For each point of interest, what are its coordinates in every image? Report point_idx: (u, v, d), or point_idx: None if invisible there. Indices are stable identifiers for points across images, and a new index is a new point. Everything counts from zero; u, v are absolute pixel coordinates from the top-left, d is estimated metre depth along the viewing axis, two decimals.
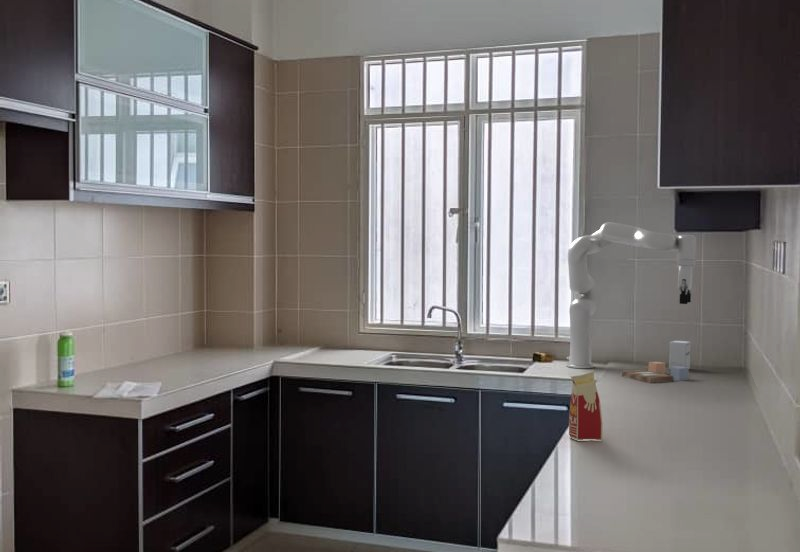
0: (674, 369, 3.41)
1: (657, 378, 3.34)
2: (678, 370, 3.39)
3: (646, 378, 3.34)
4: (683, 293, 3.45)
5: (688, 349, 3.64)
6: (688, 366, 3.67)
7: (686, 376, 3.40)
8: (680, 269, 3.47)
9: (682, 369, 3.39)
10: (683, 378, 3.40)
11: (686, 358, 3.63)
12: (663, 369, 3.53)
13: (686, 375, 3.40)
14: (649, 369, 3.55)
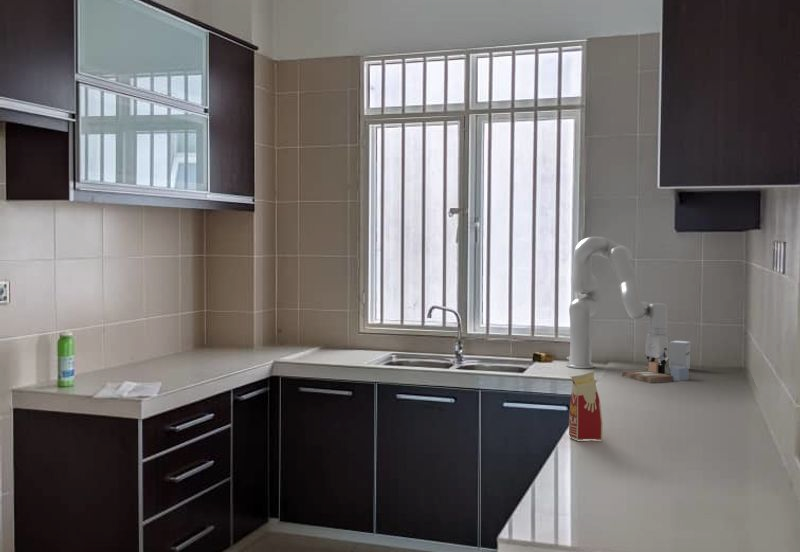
0: (674, 369, 3.41)
1: (657, 378, 3.34)
2: (678, 370, 3.39)
3: (646, 378, 3.34)
4: (663, 364, 3.51)
5: (688, 349, 3.64)
6: (688, 366, 3.67)
7: (686, 376, 3.40)
8: (661, 338, 3.49)
9: (682, 369, 3.39)
10: (683, 378, 3.40)
11: (686, 358, 3.63)
12: None
13: (686, 375, 3.40)
14: (649, 369, 3.55)
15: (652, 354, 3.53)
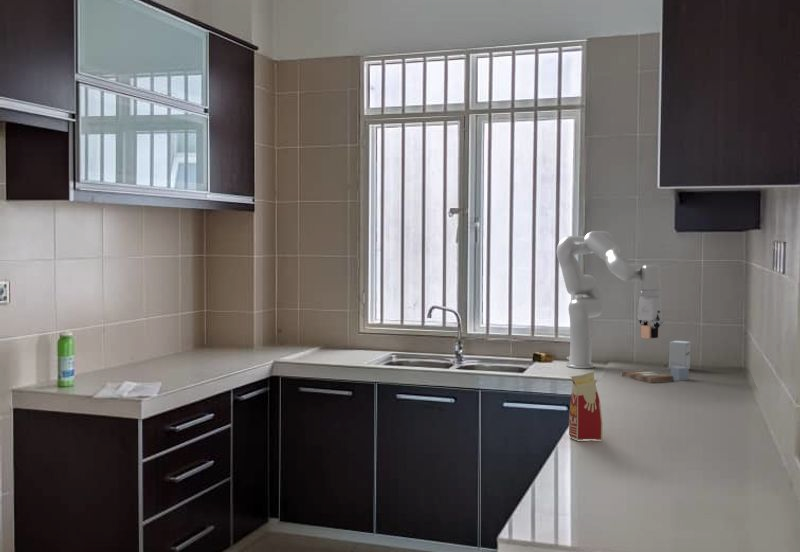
0: (674, 369, 3.41)
1: (657, 378, 3.34)
2: (678, 370, 3.39)
3: (646, 378, 3.34)
4: (657, 327, 3.40)
5: (688, 349, 3.64)
6: (688, 366, 3.67)
7: (686, 376, 3.40)
8: (654, 300, 3.38)
9: (682, 369, 3.39)
10: (683, 378, 3.40)
11: (686, 358, 3.63)
12: None
13: (686, 375, 3.40)
14: (642, 333, 3.44)
15: (645, 317, 3.42)
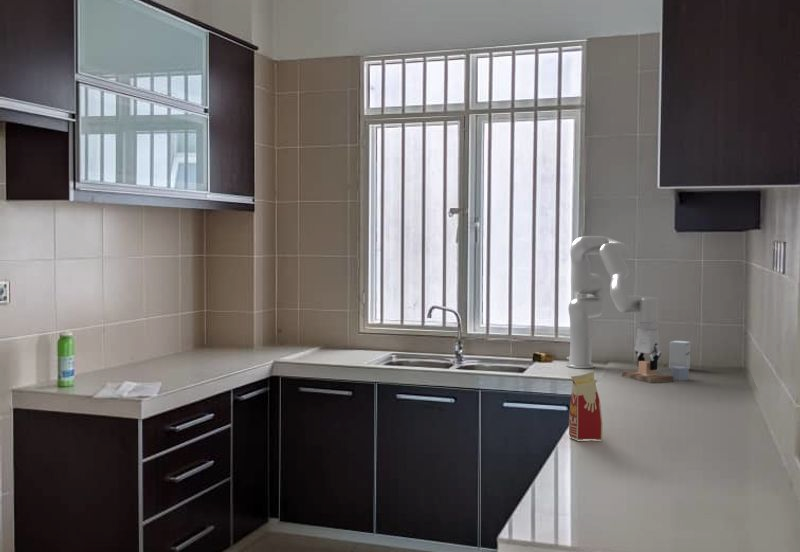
0: (674, 369, 3.41)
1: (657, 378, 3.34)
2: (678, 370, 3.39)
3: (646, 378, 3.34)
4: (656, 359, 3.37)
5: (688, 349, 3.64)
6: (688, 366, 3.67)
7: (686, 376, 3.40)
8: (652, 333, 3.37)
9: (682, 369, 3.39)
10: (683, 378, 3.40)
11: (686, 358, 3.63)
12: None
13: (686, 375, 3.40)
14: (639, 368, 3.43)
15: (642, 350, 3.41)
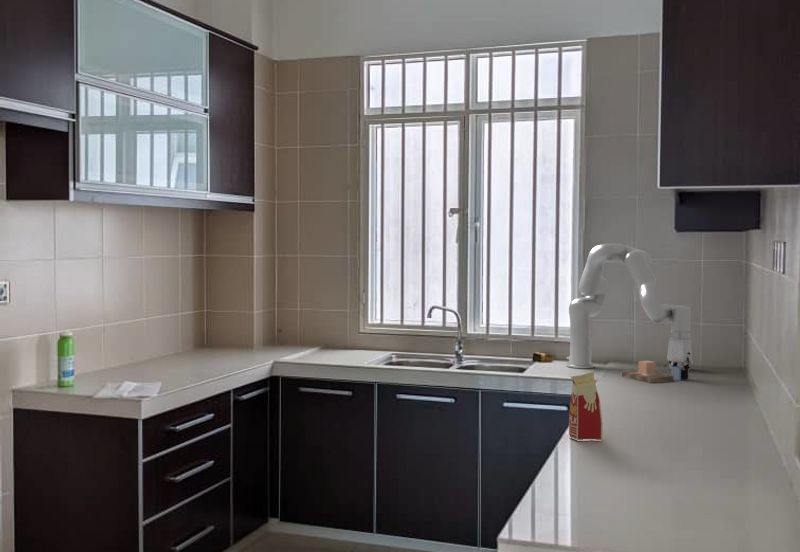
0: (674, 369, 3.41)
1: (657, 378, 3.34)
2: (678, 370, 3.39)
3: (646, 378, 3.34)
4: (687, 369, 3.38)
5: None
6: None
7: None
8: (685, 342, 3.36)
9: None
10: None
11: None
12: (653, 369, 3.41)
13: None
14: (639, 368, 3.43)
15: (675, 359, 3.40)
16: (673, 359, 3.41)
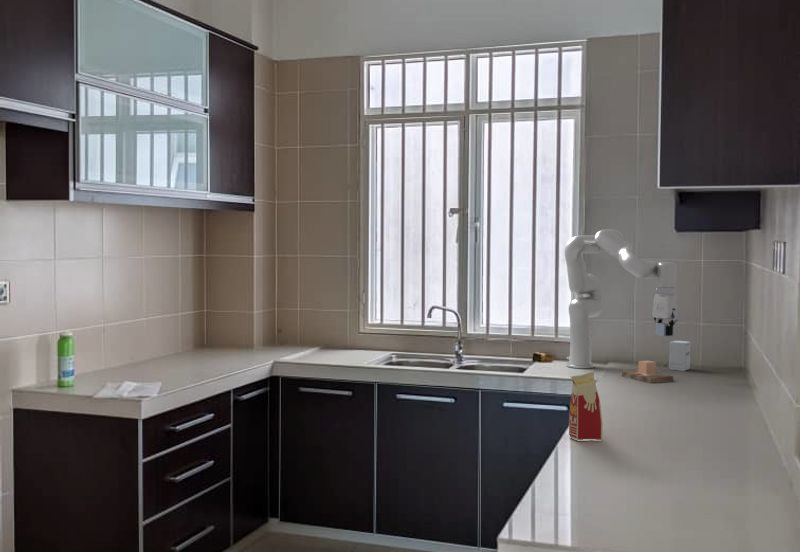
0: (659, 325, 3.41)
1: (657, 378, 3.34)
2: (663, 326, 3.39)
3: (646, 378, 3.34)
4: (672, 325, 3.38)
5: (688, 349, 3.64)
6: (688, 366, 3.67)
7: None
8: (670, 298, 3.36)
9: None
10: None
11: (686, 358, 3.63)
12: (653, 369, 3.41)
13: None
14: (639, 368, 3.43)
15: (660, 315, 3.40)
16: (658, 315, 3.41)
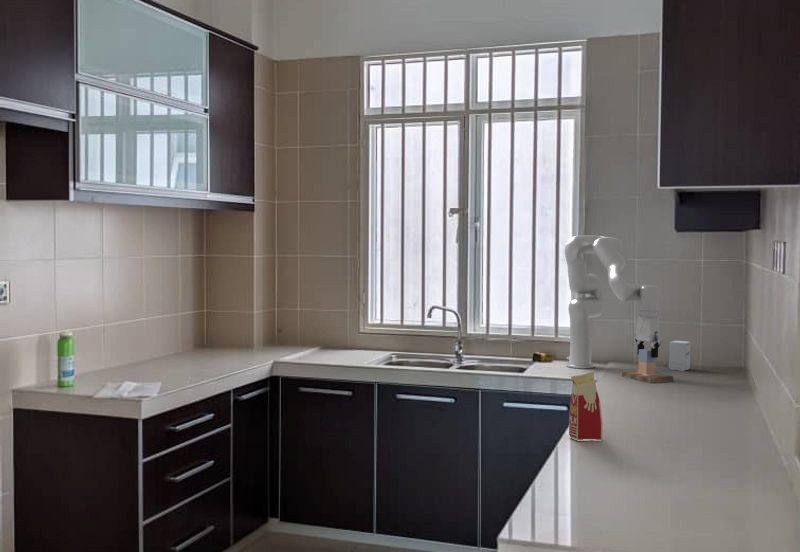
0: (642, 351, 3.42)
1: (657, 378, 3.34)
2: (646, 352, 3.39)
3: (646, 378, 3.34)
4: (657, 347, 3.37)
5: (688, 349, 3.64)
6: (688, 366, 3.67)
7: (654, 358, 3.41)
8: (652, 321, 3.37)
9: (650, 351, 3.40)
10: (651, 360, 3.40)
11: (686, 358, 3.63)
12: (653, 369, 3.41)
13: None
14: (639, 368, 3.43)
15: (642, 338, 3.41)
16: (641, 338, 3.42)
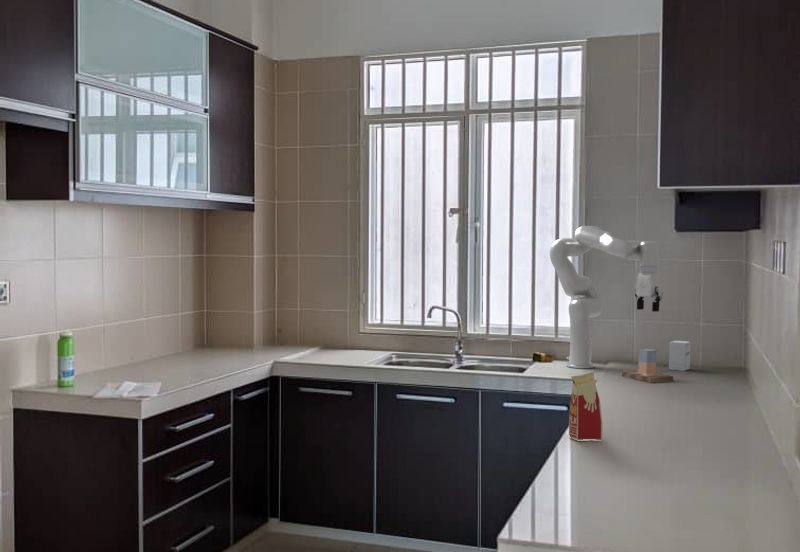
0: (642, 351, 3.42)
1: (657, 378, 3.34)
2: (646, 352, 3.39)
3: (646, 378, 3.34)
4: (658, 301, 3.40)
5: (688, 349, 3.64)
6: (688, 366, 3.67)
7: (654, 358, 3.41)
8: (652, 276, 3.41)
9: (650, 351, 3.40)
10: (651, 360, 3.40)
11: (686, 358, 3.63)
12: (653, 369, 3.41)
13: (654, 357, 3.41)
14: (639, 368, 3.43)
15: (643, 293, 3.45)
16: (641, 294, 3.46)
